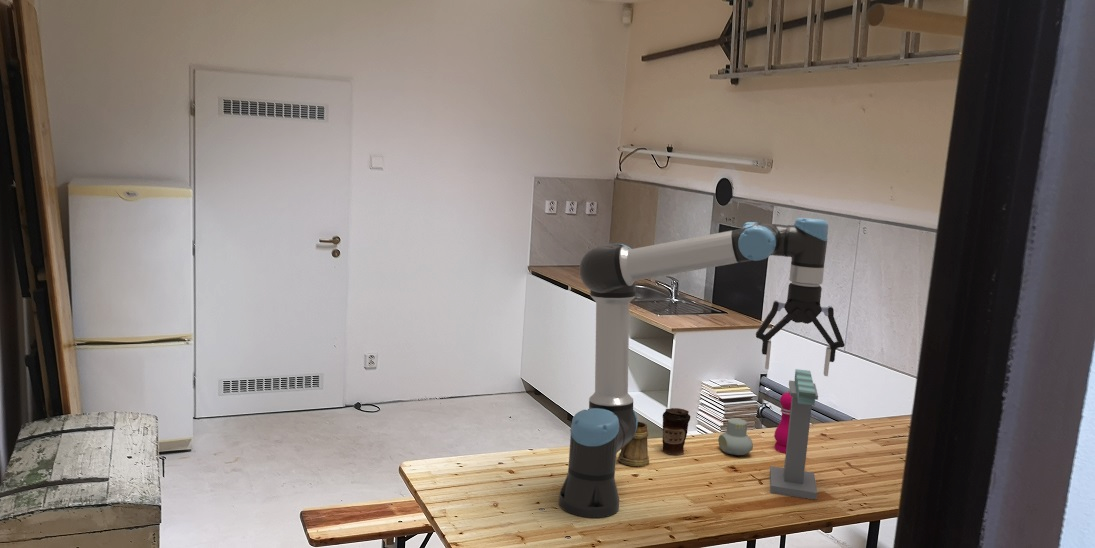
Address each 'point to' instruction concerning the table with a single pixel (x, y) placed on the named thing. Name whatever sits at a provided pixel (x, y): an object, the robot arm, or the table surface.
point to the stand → (795, 454)
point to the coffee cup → (675, 430)
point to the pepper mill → (783, 423)
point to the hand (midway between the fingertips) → (795, 371)
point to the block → (804, 387)
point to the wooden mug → (636, 448)
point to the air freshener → (736, 438)
